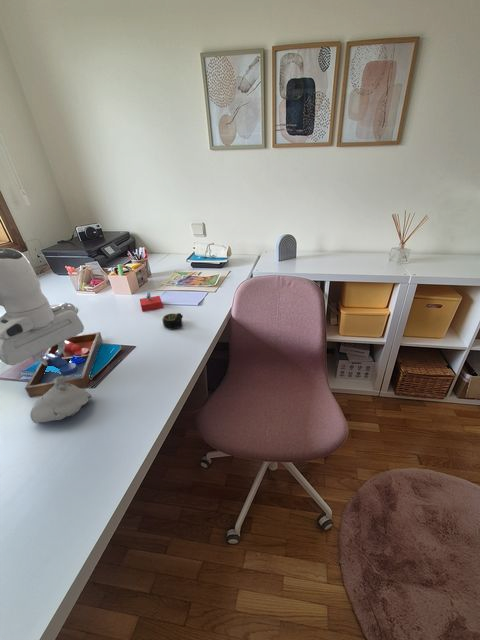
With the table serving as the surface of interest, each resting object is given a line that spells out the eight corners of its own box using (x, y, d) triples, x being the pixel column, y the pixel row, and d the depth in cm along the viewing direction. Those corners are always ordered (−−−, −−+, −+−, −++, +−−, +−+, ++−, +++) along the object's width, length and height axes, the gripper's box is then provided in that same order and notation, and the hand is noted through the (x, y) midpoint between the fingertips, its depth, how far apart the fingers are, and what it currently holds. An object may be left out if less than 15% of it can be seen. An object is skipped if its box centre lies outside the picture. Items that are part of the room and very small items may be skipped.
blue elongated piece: (42, 364, 84) (37, 356, 83) (56, 357, 87) (52, 349, 86) (67, 377, 79) (63, 368, 78) (81, 369, 82) (77, 361, 81)
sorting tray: (30, 397, 78) (24, 388, 76) (58, 346, 99) (54, 338, 97) (86, 387, 81) (82, 378, 79) (102, 340, 102) (99, 332, 100)
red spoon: (58, 350, 95) (54, 342, 94) (70, 344, 98) (66, 336, 97) (80, 360, 90) (77, 352, 89) (92, 353, 93) (89, 346, 92)
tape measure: (182, 329, 107) (180, 320, 104) (162, 331, 106) (160, 322, 104) (183, 320, 112) (182, 311, 110) (164, 322, 111) (162, 313, 109)
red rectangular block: (142, 311, 119) (138, 297, 116) (141, 305, 124) (137, 290, 121) (163, 308, 122) (159, 293, 118) (160, 301, 127) (157, 287, 123)
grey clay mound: (70, 402, 80) (66, 365, 77) (103, 414, 76) (100, 375, 73) (21, 423, 69) (14, 381, 66) (57, 438, 65) (51, 395, 62)
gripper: (65, 298, 84) (82, 339, 92) (-21, 330, 70) (9, 377, 77) (78, 302, 82) (95, 345, 89) (-7, 336, 67) (21, 384, 74)
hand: (54, 360), depth 83 cm, fingers closed on blue elongated piece, 3 cm apart
